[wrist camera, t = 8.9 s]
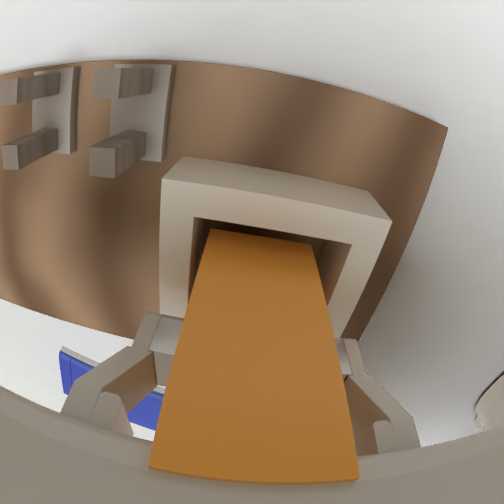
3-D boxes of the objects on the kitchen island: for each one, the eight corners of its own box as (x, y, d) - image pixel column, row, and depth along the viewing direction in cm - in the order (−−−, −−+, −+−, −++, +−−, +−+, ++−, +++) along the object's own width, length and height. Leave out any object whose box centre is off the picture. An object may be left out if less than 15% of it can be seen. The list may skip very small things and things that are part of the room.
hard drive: (194, 408, 23) (57, 354, 21) (173, 438, 27) (63, 395, 25) (196, 394, 24) (65, 341, 22) (175, 425, 28) (68, 383, 26)
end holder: (368, 191, 13) (392, 221, 10) (317, 324, 17) (324, 365, 14) (183, 156, 12) (161, 178, 10) (174, 302, 16) (161, 342, 14)
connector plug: (311, 244, 12) (366, 529, 3) (288, 317, 14) (301, 544, 6) (210, 228, 12) (137, 522, 3) (203, 305, 14) (160, 534, 5)
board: (435, 123, 12) (495, 147, 8) (338, 356, 20) (348, 412, 16) (-39, 86, 10) (-90, 103, 6) (-7, 283, 18) (-37, 319, 14)
